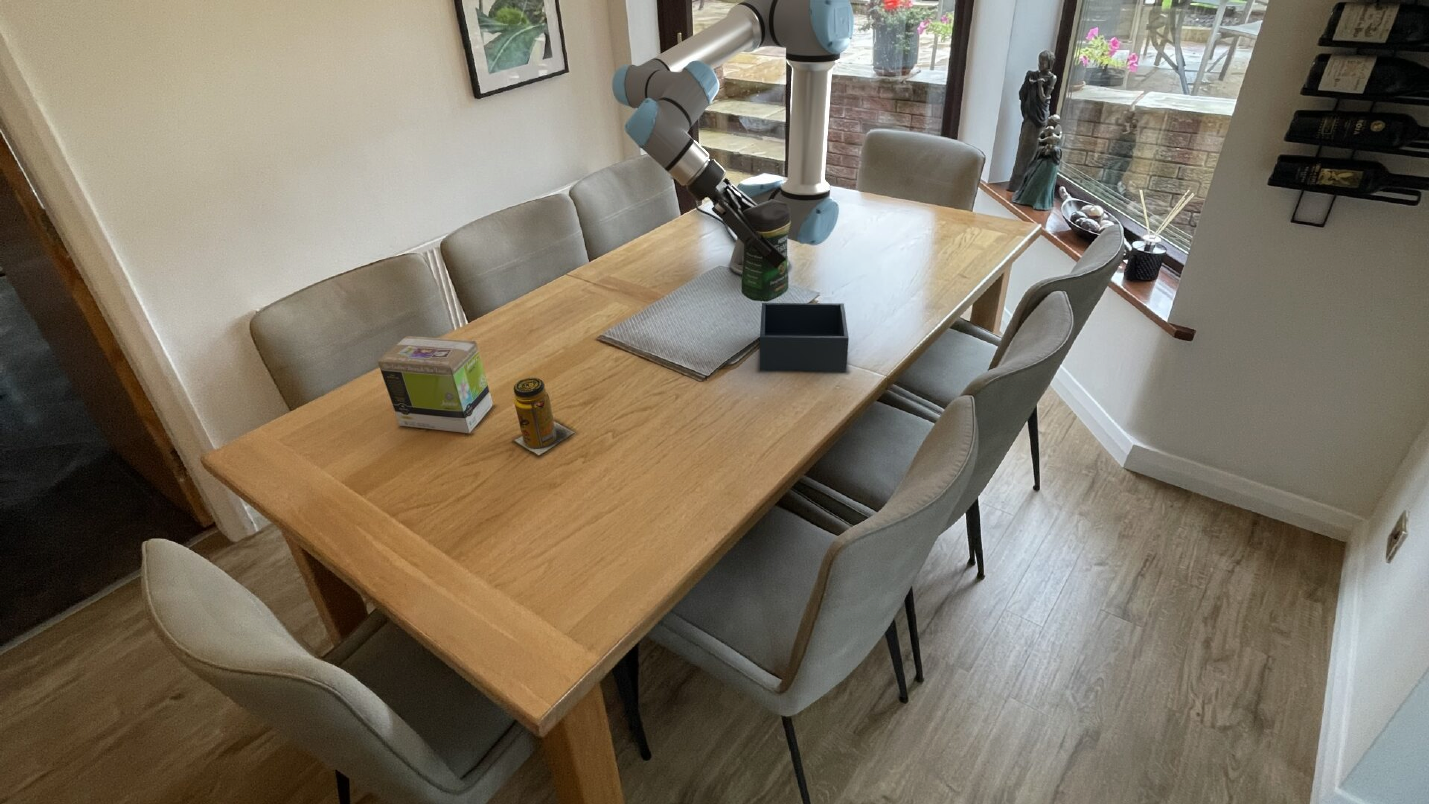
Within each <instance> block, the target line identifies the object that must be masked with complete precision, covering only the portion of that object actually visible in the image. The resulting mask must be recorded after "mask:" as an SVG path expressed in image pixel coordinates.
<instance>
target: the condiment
mask: <svg viewBox="0 0 1429 804" xmlns="http://www.w3.org/2000/svg"><path fill="white" fill-rule="evenodd" d="M513 393H514V398H515V399H514V401H513V402H514V408H515V412H516V415H517V420H518V423H519V429H520V433H521V436H519V437H518V438H516V439H514V440H513V441H514V442H515V443H517V444H519V445H520V446H522V447H523V448H525V449H527V450H529V451H530V452H532V453H534V454H536V455H537V456H540V455H542V454H543V453H545V452H548V451H549V450H551V449H552V448H553V447H555V446H557V445H558V444H560V443H561V442H562V441H564V440H566V439H567V438H569V437H570V436H571V435H573V434H574V433H575V431H574V430H571V429H570V428H567V427H565V426H564V425H561V424H559V423H558V422H556V421H555V419H554V415H553V414H554V413H553V410H552V404H551V400H550V395H549V393H548V392H547V390H546V387H545V383H544V381H543V380H542V379H540V378H538V377H526V378H523V379H520V380H518V381H517V382H515V384H514V386H513Z"/></svg>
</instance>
